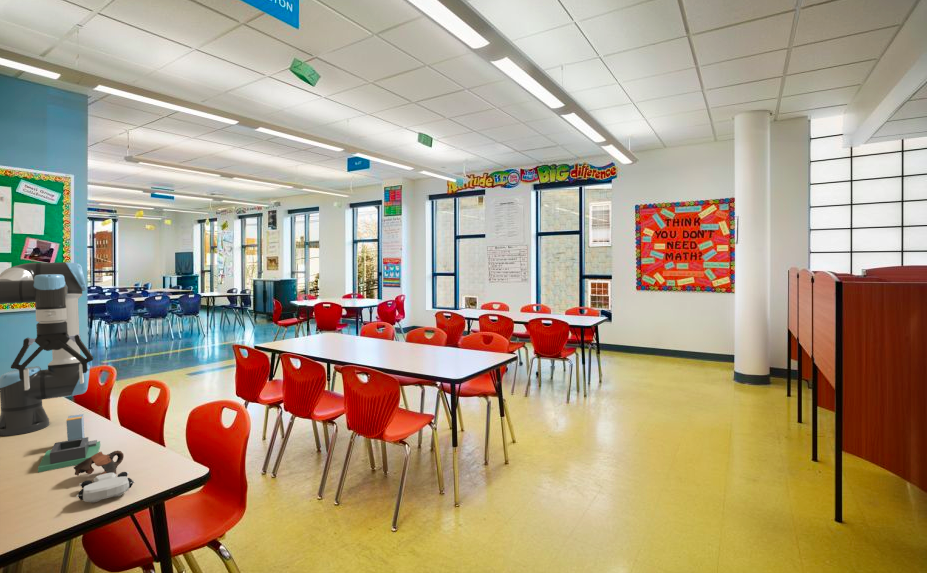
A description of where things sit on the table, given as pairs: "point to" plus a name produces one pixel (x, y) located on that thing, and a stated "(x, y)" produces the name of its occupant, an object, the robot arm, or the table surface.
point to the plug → (75, 427)
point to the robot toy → (105, 487)
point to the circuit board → (68, 453)
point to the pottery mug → (100, 463)
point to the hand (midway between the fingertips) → (55, 386)
